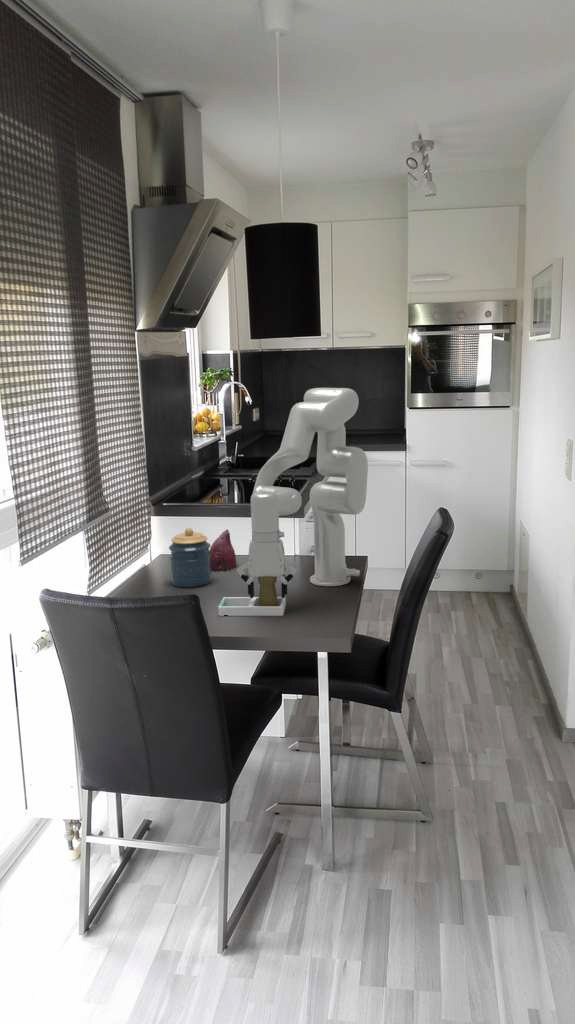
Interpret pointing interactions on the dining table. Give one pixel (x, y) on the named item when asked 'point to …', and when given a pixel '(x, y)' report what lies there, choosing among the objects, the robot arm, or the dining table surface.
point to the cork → (267, 591)
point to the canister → (190, 560)
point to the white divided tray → (249, 607)
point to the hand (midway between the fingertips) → (267, 596)
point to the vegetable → (222, 553)
